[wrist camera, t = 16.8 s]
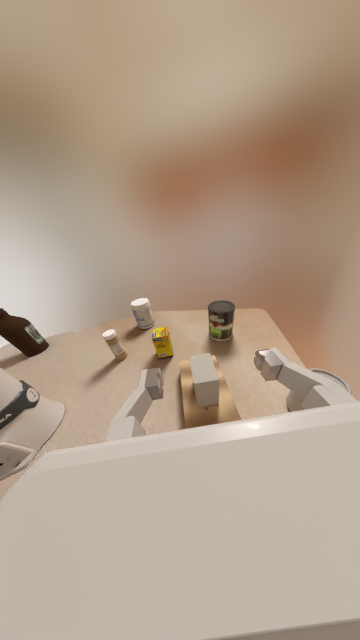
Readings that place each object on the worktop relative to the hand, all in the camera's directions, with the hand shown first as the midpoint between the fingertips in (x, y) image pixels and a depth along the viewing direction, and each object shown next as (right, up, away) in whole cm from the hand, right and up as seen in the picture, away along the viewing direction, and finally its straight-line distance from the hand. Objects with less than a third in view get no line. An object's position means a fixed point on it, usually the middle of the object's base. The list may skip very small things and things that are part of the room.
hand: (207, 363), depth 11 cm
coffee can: (+16, -3, +48) cm, 51 cm away
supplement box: (-8, -10, +44) cm, 45 cm away
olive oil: (-79, -13, +60) cm, 100 cm away
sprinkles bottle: (-27, -12, +45) cm, 54 cm away
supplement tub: (-21, +1, +65) cm, 68 cm away
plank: (+5, -19, +25) cm, 32 cm away
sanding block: (+4, -15, +23) cm, 27 cm away
